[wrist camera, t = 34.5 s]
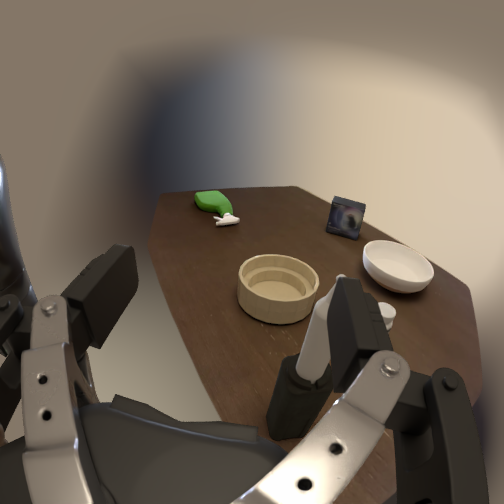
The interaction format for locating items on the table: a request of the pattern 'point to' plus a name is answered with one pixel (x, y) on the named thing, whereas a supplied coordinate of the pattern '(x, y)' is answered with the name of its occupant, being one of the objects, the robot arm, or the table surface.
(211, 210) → the spray bottle
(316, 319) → the candle
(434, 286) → the table surface
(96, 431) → the robot arm
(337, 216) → the small box
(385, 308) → the pill bottle
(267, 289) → the beige round dish
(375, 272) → the bowl
